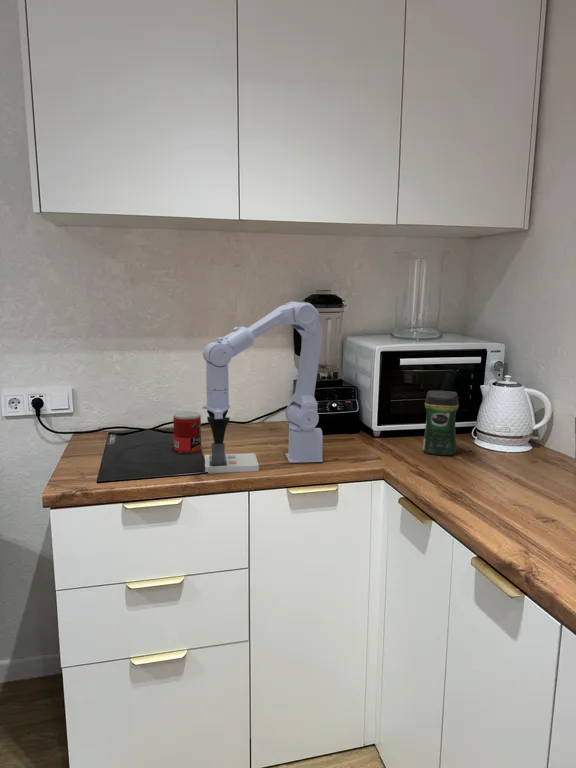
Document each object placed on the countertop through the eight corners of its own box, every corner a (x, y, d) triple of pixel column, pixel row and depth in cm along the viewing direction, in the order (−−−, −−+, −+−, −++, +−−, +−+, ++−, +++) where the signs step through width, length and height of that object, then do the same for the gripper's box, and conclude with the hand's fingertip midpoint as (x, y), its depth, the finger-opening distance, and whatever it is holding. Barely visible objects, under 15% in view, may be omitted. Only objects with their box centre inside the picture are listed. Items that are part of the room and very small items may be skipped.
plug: (224, 466, 154) (224, 441, 153) (225, 470, 151) (224, 445, 150) (211, 467, 154) (211, 442, 153) (212, 471, 151) (211, 445, 149)
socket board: (254, 458, 162) (254, 452, 162) (258, 471, 151) (258, 464, 151) (204, 460, 160) (204, 454, 159) (205, 473, 149) (205, 466, 149)
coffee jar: (456, 450, 172) (460, 389, 169) (455, 457, 165) (459, 394, 162) (423, 447, 176) (427, 387, 172) (420, 454, 168) (424, 392, 165)
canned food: (195, 455, 165) (195, 417, 163) (169, 453, 166) (168, 416, 164) (204, 447, 172) (204, 412, 170) (179, 445, 174) (179, 410, 172)
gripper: (202, 384, 155) (203, 432, 158) (202, 394, 141) (203, 447, 143) (228, 383, 156) (228, 431, 159) (230, 393, 142) (231, 446, 145)
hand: (218, 439), depth 151 cm, fingers open, 7 cm apart
